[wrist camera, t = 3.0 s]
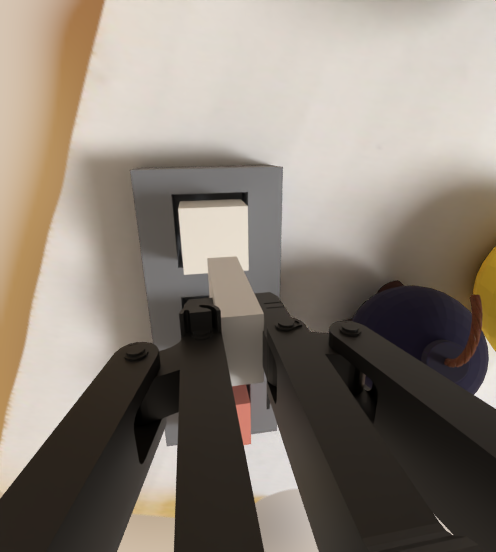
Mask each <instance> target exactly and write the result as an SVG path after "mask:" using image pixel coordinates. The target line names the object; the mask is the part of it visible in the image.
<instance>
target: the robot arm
mask: <svg viewBox="0 0 496 552" xmlns="http://www.w3.org/2000/svg"><path fill="white" fill-rule="evenodd" d="M207 263H208V280H209V297H210V298H201V299H189V300H188V301H187V302H186V303H185V304H184V308H183V309H182V310H181V311H180V313H179V320H180V331H181V341H180V342H179V343H177V344H176V345H174V346H172V347H170V348H167V349H165V350H161V351H159V349H158V347H157V346H156V345H154V344H152V343H147V342H136V343H133V344H132V343H131V344H128V345H126V346H124V347H122V348H120V349H119V350H118V351H117V352H116V353H114V355H113V356H112V357H111V359H110V360H109V361H108V362H107V364H106V365H105V366H104V367H103V369H102V370H101V371H100V373H99V374H98V375H97V376H96V378H95V379H94V380H93V381H92V383H91V384H90V385H89V387H88V388H87V389H86V390H85V392H84V393H83V394H82V395H81V397H80V398H79V399H78V401H77V402H76V403H75V404H74V406H73V407H72V408H71V409H70V411H69V412H68V413H67V415H66V416H65V417H64V418H63V420H62V421H61V422H60V423H59V425H58V426H57V427H56V429H55V430H54V431H53V432H52V434H51V435H50V436H49V437H48V439H47V440H46V441H45V443H44V444H43V445H42V446H41V448H40V449H39V450H38V451H37V453H36V454H35V455H34V457H33V458H32V459H31V460H30V462H29V463H28V464H27V465H26V467H25V468H24V469H23V471H22V472H21V473H20V474H19V476H18V477H17V478H16V479H15V481H14V482H13V483H12V485H11V486H10V487H9V488H8V490H7V491H6V492H5V493H4V495H3V496H2V497H1V498H0V552H117V550H118V547H119V545H120V542H121V540H122V537H123V535H124V532H125V530H126V527H127V524H128V522H129V519H130V517H131V514H132V512H133V509H134V506H135V504H136V501H137V499H138V496H139V494H140V491H141V488H142V486H143V483H144V481H145V478H146V476H147V473H148V470H149V468H150V465H151V463H152V460H153V458H154V455H155V452H156V450H157V447H158V445H159V442H160V440H161V437H162V434H163V432H164V429H165V427H166V424H167V416H170V415H172V414H175V413H178V412H179V416H178V446H177V476H176V507H175V537H174V538H175V539H174V552H264V548H263V543H262V538H261V533H260V528H259V523H258V517H257V512H256V507H255V502H254V497H253V491H252V486H251V481H250V476H249V471H248V466H247V461H246V455H245V450H244V445H243V440H242V435H241V430H240V424H239V419H238V414H237V409H236V404H235V399H234V394H233V388H232V386H238V385H246V384H254V383H262V382H264V372H265V375H266V378H267V394H266V407H267V409H270V403H271V406H272V409H273V412H274V415H275V419H276V422H277V425H278V428H279V431H280V434H281V437H282V440H283V443H284V446H285V449H286V452H287V455H288V458H289V461H290V464H291V468H292V471H293V474H294V477H295V480H296V483H297V486H298V489H299V492H300V495H301V498H302V501H303V504H304V507H305V510H306V513H307V516H308V520H309V522H310V526H311V529H312V532H313V535H314V538H315V541H316V544H317V547H318V550H319V552H496V409H495V408H493V407H492V406H490V405H488V404H487V403H485V402H484V401H482V400H481V399H479V398H477V397H476V396H474V395H473V394H471V393H470V392H468V391H466V390H465V389H463V388H462V387H460V386H459V385H457V384H455V383H454V382H452V381H451V380H449V379H448V378H446V377H444V376H443V375H441V374H440V373H438V372H437V371H435V370H433V369H432V368H430V367H429V366H427V365H426V364H424V363H422V362H421V361H419V360H418V359H416V358H415V357H413V356H411V355H410V354H408V353H407V352H405V351H404V350H402V349H400V348H399V347H397V346H396V345H394V344H393V343H391V342H389V341H388V340H386V339H385V338H383V337H382V336H380V335H378V334H377V333H375V332H374V331H372V330H371V329H369V328H367V327H366V326H364V325H362V324H360V323H356V322H353V321H340V322H336V323H333V324H332V325H331V326H330V328H329V333H316V332H310V331H309V330H308V328H307V327H306V325H305V324H304V323H303V322H302V321H300V320H297V319H295V318H291V316H290V315H289V313H288V312H287V310H286V309H285V307H284V305H283V304H282V303H281V301H280V299H279V297H278V296H276V295H275V294H273V293H271V292H264V293H254V292H253V290H252V288H251V286H250V283H249V281H248V279H247V277H246V275H245V273H244V271H243V269H242V267H241V265H240V262H239V260H238V258H237V256H234V257H219V258H207ZM365 376H367V377H368V378H369V379H371V380H372V382H373V383H372V388H369V387H368V386H367V385H365ZM433 513H434V514H433ZM435 516H436V517H437V518H438V519H439V520H440V521H441V522H442V523H443V524H444V525H445V526H446V527H447V528H448V529H449V530H450V531H451V533H452V534H453V535H451V534H450V533H449V532H447V531H446V530H445V529H444V528H443V526H442V525H441V524H440V523H439V521H438V520H437V518H436V517H435Z"/></svg>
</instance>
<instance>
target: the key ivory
mask: <svg viewBox="0 0 496 552" xmlns="http://www.w3.org/2000/svg"><path fill="white" fill-rule="evenodd" d="M178 213H179V224H180V235H181V247H182V258H183V270H184V275H189V274H204V273H208V263H207V258H219V257H234V256H237V258H238V260H239V262H240V265H241V267H242V269H243V271H248V270H249V254H248V206H247V205H246V204H245V203H244V202H243V201H242V200H241V199H228V200H200V201H180V203H179V207H178Z"/></svg>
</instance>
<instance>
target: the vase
mask: <svg viewBox="0 0 496 552" xmlns="http://www.w3.org/2000/svg"><path fill="white" fill-rule="evenodd" d="M474 294H475V295H477V294H478V295H480V298H481V303H482V313H483V317H482V331H483V333H484V335H485V337H486V338H487V340H488V341H489V343H490V344H491V346H492V347H493V349H494V350H495V351H496V246H495V247H494V248H493V249H492V251H491V252H490V253H489V255H488V256H487V257H486V259H485V260H484V262H483V263H482V265H481V267H480V270H479V272H478V274H477V276H476V280H475V284H474V289H473V295H474Z"/></svg>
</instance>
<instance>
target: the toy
mask: <svg viewBox="0 0 496 552" xmlns="http://www.w3.org/2000/svg"><path fill="white" fill-rule="evenodd" d="M470 300H471V306H472V314H471V312H470V311H469V310H468V309H467V308H465V307H464V306H463V305H462V304H461V303H460V302H458V301H457V300H455V299H454V298H452V297H450V296H449V295H447V294H445V293H443V292H440V291H437V290H435V289H432V288H426V287H420V286H404V285H403V284H402V283H401V282H400V281H398V280H397V281H392V282H389V283H387V284H386V285H384V286H383V287H381V288H380V290H379V291H378V293H377V294H376V295H374V296H373V297H371V298H370V299H368V300H367V301H366V302H365V303H364V304H363V305H362V306H361V307H360V308H359V309H358V310H357V312H356V314H355V315H354V317H353V318H352V319H350V320H348V321H353V322H356V323H360V324H362V325H364V326H366V327H367V328H369V329H371V330H372V331H374V332H375V333H377V334H378V335H380V336H382V337H383V338H385V339H386V340H388V341H389V342H391V343H393V344H394V345H396V346H397V347H399V348H400V349H402V350H404V351H405V352H407V353H408V354H410V355H411V356H413V357H415V358H416V359H418V360H419V361H421V362H422V363H424V364H426V365H427V366H429V367H430V368H432V369H433V370H435V371H437V372H438V373H440V374H441V375H443V376H444V377H446V378H448V379H449V380H451V381H452V382H454V383H455V384H457V385H459V386H460V387H462V388H463V389H465V390H466V391H468V392H470V393H471V394H473V395H474V394H475V393H476V392H477V391H478V389H479V387H480V386H481V384H482V383H483V381H484V378H485V375H486V372H487V367H488V360H489V357H488V346H487V343H486V339H485V336H484V333H483V331H482V317H483V313H482V303H481V298H480V295H478V294H477V295H475V294H474V295H471V297H470ZM372 383H373V382H372V380H371V379H369V378H368V377H367V376H365V385H367V386H368V387H369V388H372Z"/></svg>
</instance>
